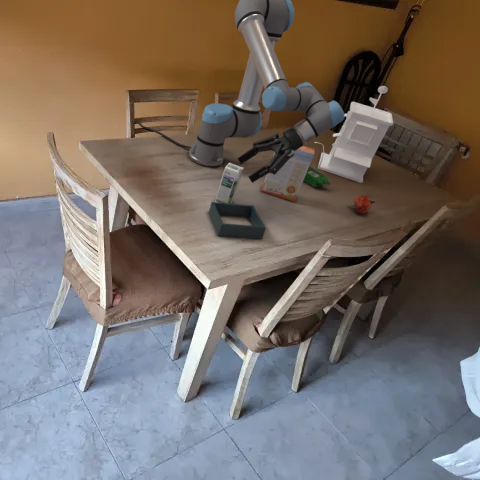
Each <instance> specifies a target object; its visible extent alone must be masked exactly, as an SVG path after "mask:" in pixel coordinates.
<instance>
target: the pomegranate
mask: <svg viewBox="0 0 480 480" xmlns="http://www.w3.org/2000/svg"><path fill="white" fill-rule="evenodd" d="M353 203H354V205H348V208H352V207H354V208H355V210H356V213H357V214H366V213H368V212H369V211H370V210H371V208H372V204H376V201H373V200H371V199H370V198H369V196H366V195H364V194H360V195H357V196H355V197H354V198H353Z"/></svg>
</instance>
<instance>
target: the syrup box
mask: <svg viewBox="0 0 480 480" xmlns="http://www.w3.org/2000/svg"><path fill="white" fill-rule="evenodd" d="M243 171H244V166H243V167H242V166H239V165H236V164H234V163H232V162H228V163H227V165H226V166H225V167H224V170H223V172H222V176H221V178H220V183H219V186H218V189H217V193H216V196H215V199H214V202H217V203H229V204H233V201H234V198H235V195H236V192H237V189H238V187H239V183H240V180H241V177H242V174H243Z"/></svg>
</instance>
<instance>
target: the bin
mask: <svg viewBox="0 0 480 480" xmlns="http://www.w3.org/2000/svg"><path fill="white" fill-rule="evenodd" d="M209 206H210V207H209V210H208V215H209V218H210V219H211V222H212V224H213V227H214V229H215V232H216V234H217V236H218V237H231V238H233V237H234V238H244V239H260V240H261V239H263V237H264V234H265V232H266V230H267V227H266V224H264V221H263V220H262V218H261V216H260V214H259V213H258V211H257V209H256V208H255V206H254V205H250V204H240V203H231V204H229V203H217V202H215V201H211V202H210V205H209ZM221 216H231V217H242V218H243V217H244V218H248V219H249V221H250V223H251V225H247V224H235V223H224V222H223V220H222V217H221Z"/></svg>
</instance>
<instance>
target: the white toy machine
mask: <svg viewBox="0 0 480 480" xmlns="http://www.w3.org/2000/svg"><path fill="white" fill-rule="evenodd" d="M388 91H389V88H388V87H387V86H385V85H380V86H379V87H378V88H377V92H378V93H379V95H378V98H377V99H376V98H373V97H369V100H368V101H370V102H371V103H372V104H373V107H372V106H369V105H365V104H362V103H359V102H356V101H351V102H350V105H349V110H348V111H347V113H344V116H345V118H346V119H345V120H344V122H343V125H342V126H341V128H340V129H339V132H337V133H333V134H332V138H335V137H336V139H335V141H334V142H333V143H331V146H332V147H331V150H330V151H329V153H327V152H325V145H324V144H323V143H321V142H318V141H314V142H313V143H314V144H319V145H322V152H321V154H320V157H319V161H318V164H317V165H318V166H317V169H318V170H321V171H325V172H328V173H330V174H333V175H336V176H339V177H342V178H344V179H348V180H351V181H354V182H357V183H360V184H363V183H364V175H365V174H366V172H367V170H368V168H369V169H370V168H371V165H372V161H373V158H374V156H375V155H376V152H377V150H378V149H379V147H380V145H381V143H382V141H383V139H384V137H385V135H386V133H387V132H388V129H389V128H390V127H393V125H394V119H393V114H392V113H391V112H389V111H386V110H382V109H379V108H377V107H376V106H377V105H378V102H379V101H380V99H381V96H382V94H387V92H388Z"/></svg>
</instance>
